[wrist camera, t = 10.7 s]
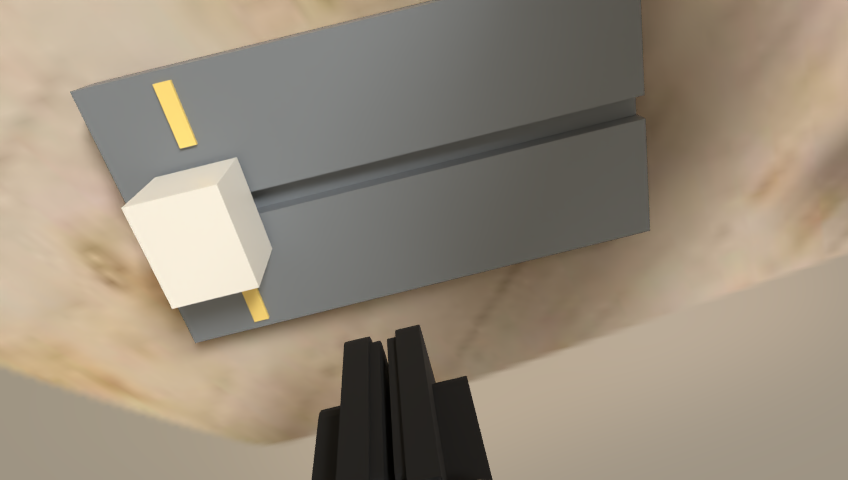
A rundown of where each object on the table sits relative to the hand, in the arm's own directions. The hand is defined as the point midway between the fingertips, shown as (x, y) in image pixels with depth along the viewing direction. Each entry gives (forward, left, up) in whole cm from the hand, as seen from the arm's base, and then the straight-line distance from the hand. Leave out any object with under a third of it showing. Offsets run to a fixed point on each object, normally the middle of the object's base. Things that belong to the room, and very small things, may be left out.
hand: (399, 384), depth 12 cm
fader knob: (+8, 0, -17) cm, 19 cm away
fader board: (-1, 0, -19) cm, 19 cm away
